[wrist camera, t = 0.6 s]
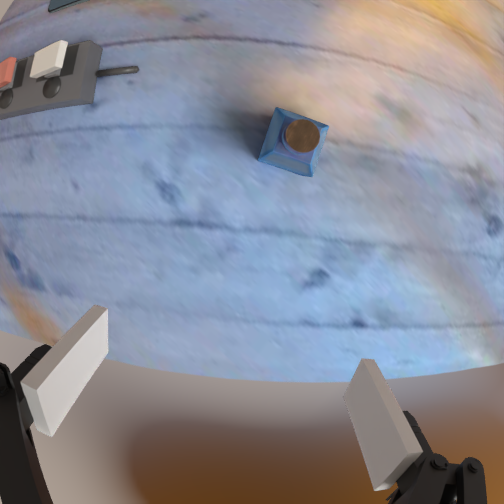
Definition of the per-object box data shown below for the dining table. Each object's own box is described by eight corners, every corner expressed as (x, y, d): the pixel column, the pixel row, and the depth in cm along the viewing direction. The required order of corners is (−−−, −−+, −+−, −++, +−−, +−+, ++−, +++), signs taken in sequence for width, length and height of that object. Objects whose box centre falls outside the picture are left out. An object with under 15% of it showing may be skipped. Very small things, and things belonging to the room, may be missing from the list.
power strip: (-30, 128, 35) (-47, 128, 30) (-23, 85, 32) (-39, 82, 28) (135, 99, 36) (121, 92, 31) (145, 43, 33) (133, 30, 28)
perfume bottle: (272, 116, 37) (280, 94, 25) (317, 132, 37) (343, 117, 25) (257, 160, 38) (259, 156, 26) (303, 175, 39) (324, 178, 27)
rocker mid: (-6, 91, 29) (-12, 90, 28) (-1, 69, 28) (-8, 68, 27) (11, 82, 28) (4, 81, 27) (16, 58, 27) (9, 56, 25)
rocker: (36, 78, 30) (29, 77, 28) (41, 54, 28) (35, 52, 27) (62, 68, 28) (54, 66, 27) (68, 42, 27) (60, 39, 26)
